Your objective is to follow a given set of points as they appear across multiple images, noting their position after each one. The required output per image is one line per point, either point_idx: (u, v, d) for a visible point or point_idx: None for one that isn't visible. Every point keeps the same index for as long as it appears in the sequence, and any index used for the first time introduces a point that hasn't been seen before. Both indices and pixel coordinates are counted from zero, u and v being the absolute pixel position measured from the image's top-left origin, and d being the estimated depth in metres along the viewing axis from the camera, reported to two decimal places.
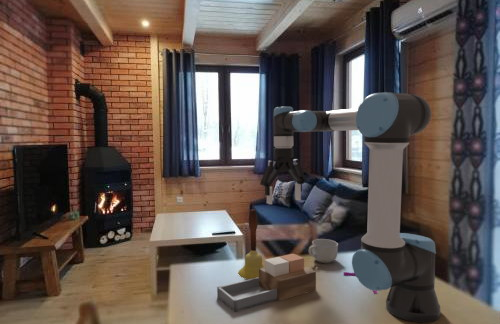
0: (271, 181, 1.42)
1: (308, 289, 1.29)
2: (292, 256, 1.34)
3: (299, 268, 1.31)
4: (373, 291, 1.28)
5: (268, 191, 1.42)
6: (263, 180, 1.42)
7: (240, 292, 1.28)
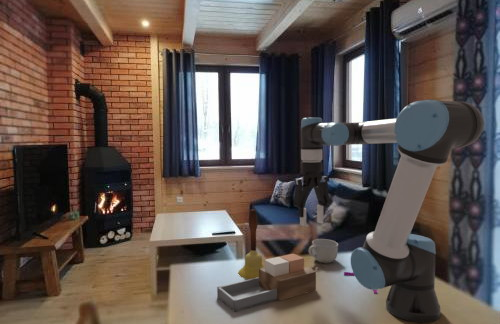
0: (304, 201, 1.33)
1: (308, 289, 1.29)
2: (292, 256, 1.34)
3: (299, 268, 1.31)
4: (373, 291, 1.28)
5: (302, 212, 1.33)
6: (296, 201, 1.32)
7: (240, 292, 1.28)
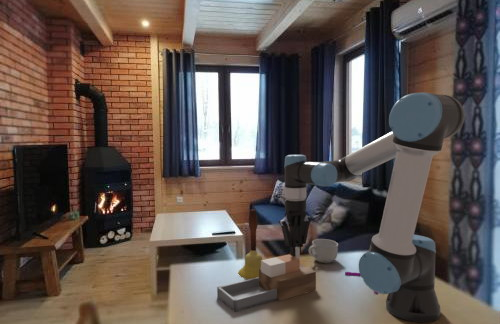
0: (294, 240, 1.32)
1: (308, 289, 1.29)
2: (288, 257, 1.33)
3: (294, 269, 1.30)
4: None
5: (294, 252, 1.33)
6: (286, 241, 1.32)
7: (240, 292, 1.28)
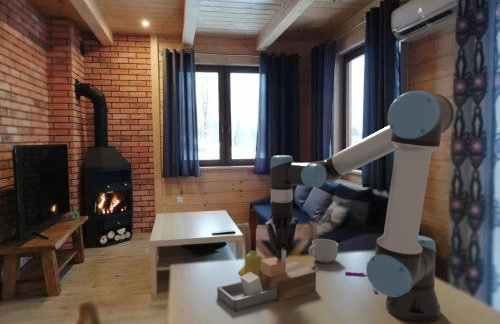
0: (280, 243, 1.29)
1: (308, 289, 1.29)
2: (273, 260, 1.30)
3: (280, 272, 1.28)
4: (374, 291, 1.28)
5: (280, 255, 1.30)
6: (272, 244, 1.29)
7: (240, 292, 1.28)
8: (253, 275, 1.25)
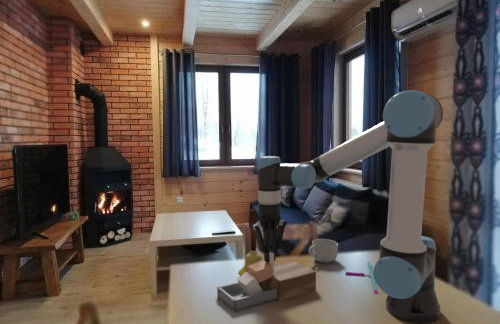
0: (268, 246, 1.26)
1: (308, 289, 1.29)
2: (260, 264, 1.27)
3: (268, 276, 1.25)
4: (374, 291, 1.28)
5: (268, 258, 1.27)
6: (260, 247, 1.26)
7: (240, 292, 1.28)
8: (249, 275, 1.25)
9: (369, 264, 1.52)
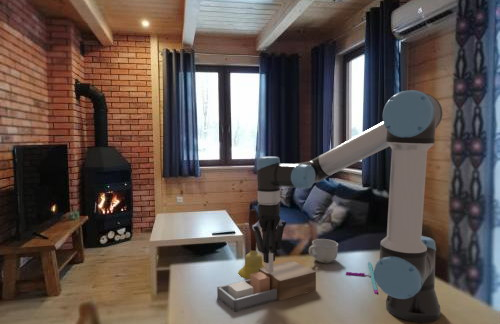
0: (267, 246, 1.26)
1: (308, 289, 1.29)
2: None
3: (261, 291, 1.24)
4: (374, 291, 1.28)
5: (267, 258, 1.27)
6: (259, 247, 1.26)
7: None
8: (232, 290, 1.22)
9: (369, 264, 1.52)
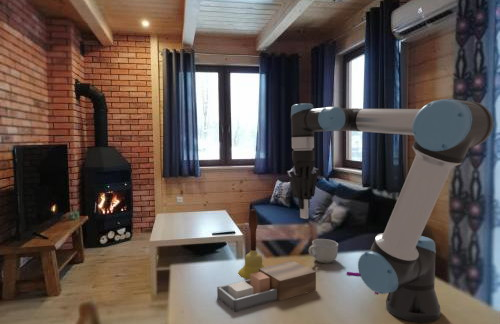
0: (302, 192, 1.28)
1: (308, 289, 1.29)
2: None
3: (261, 291, 1.24)
4: (374, 291, 1.28)
5: (302, 204, 1.29)
6: (295, 193, 1.28)
7: None
8: (232, 290, 1.22)
9: None
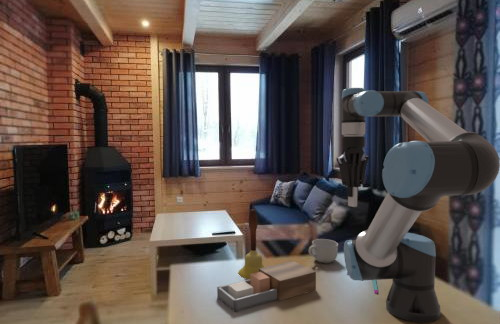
0: (352, 180, 1.25)
1: (308, 289, 1.29)
2: None
3: (261, 291, 1.24)
4: (374, 291, 1.28)
5: (351, 192, 1.25)
6: (344, 180, 1.24)
7: None
8: (232, 290, 1.22)
9: None
